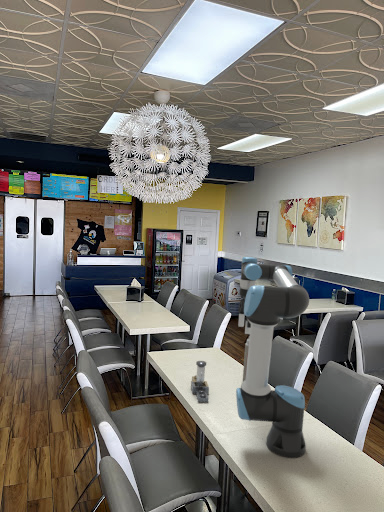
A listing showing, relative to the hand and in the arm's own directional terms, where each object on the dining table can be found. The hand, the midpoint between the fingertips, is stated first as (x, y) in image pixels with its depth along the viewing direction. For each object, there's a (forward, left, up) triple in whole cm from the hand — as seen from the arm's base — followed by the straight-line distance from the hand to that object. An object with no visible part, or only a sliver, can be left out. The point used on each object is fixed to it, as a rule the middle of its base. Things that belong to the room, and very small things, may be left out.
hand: (244, 330), depth 197 cm
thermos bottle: (+17, -10, -35) cm, 40 cm away
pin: (+7, +19, -35) cm, 40 cm away
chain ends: (+7, +20, -35) cm, 40 cm away
